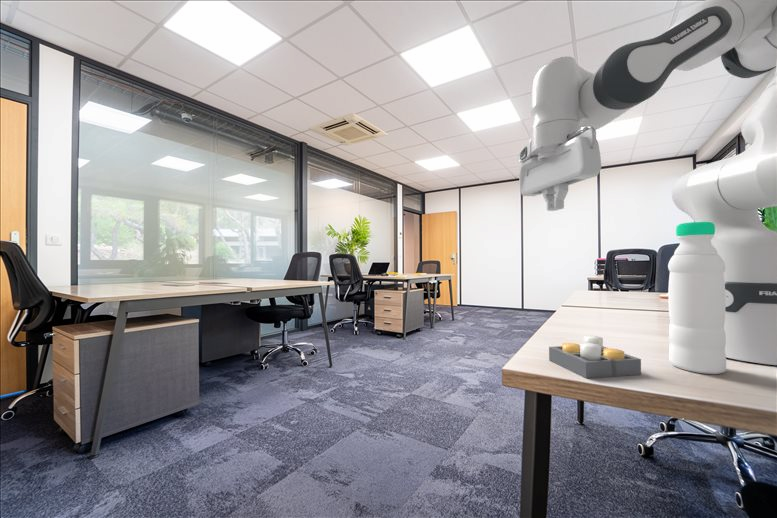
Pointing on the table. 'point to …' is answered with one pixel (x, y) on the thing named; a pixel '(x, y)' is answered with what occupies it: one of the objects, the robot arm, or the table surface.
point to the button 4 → (613, 353)
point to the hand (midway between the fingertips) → (555, 209)
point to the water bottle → (697, 301)
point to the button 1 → (571, 347)
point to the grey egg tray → (595, 364)
